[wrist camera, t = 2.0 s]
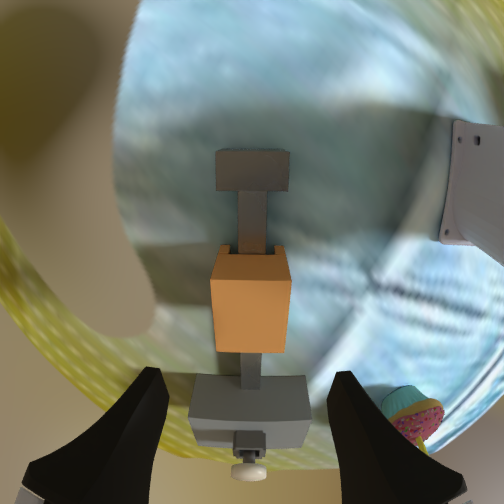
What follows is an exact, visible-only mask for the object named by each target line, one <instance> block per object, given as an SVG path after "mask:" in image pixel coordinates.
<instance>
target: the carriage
mask: <svg viewBox="0 0 504 504" xmlns="http://www.w3.org/2000/svg"><path fill="white" fill-rule="evenodd" d="M291 283H292V280H291V275H290V271H289V266H288V262H287V258H286V253H285V249H284V246H274V255H246V254H230V245H221V246H220V249H219V252H218V255H217V259H216V262H215V265H214V268H213V272H212V275H211V278H210V284H211V297H212V309H213V320H214V330H215V340H216V350H217V352H241V353H284V349H285V341H286V332H287V323H288V314H289V304H290V294H291Z"/></svg>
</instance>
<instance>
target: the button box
mask: <svg viewBox="0 0 504 504" xmlns="http://www.w3.org/2000/svg"><path fill="white" fill-rule="evenodd" d="M188 420H189V422H190V425H191V428H192V431H193V433H194V436H195V439H196V441H197V444H198V446H208V447H220V448H233V456H236V457H237V458H243V450H255V459H262V457H265V453H266V449H285V448H301V447H302V445H303V442H304V440H305V437H306V435H307V432H308V430H309V427H310V424H311V422H312V415H311V408H310V402H309V395H308V389H307V383H306V377H305V376H280V377H260V390H241V376H223V375H207V374H197V375H196V380H195V384H194V389H193V394H192V399H191V403H190V408H189V413H188Z"/></svg>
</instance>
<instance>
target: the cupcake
mask: <svg viewBox="0 0 504 504" xmlns="http://www.w3.org/2000/svg"><path fill="white" fill-rule="evenodd" d="M382 413H383V414H384V416H385V417H386V418H387V419H388V420H389V421H390V422H391V424H392V425H393V426H394V427H395V428H396V429H397V430H398V431H399V432H400V433H401V434H402V435H403V436H404V437H405V438H407V439H408V440H409V441H410V442H411V443H412V444H413V445H415V446H418V447H419V449H420V450H421V451H422V452H424V453H425V454H427V455H428V452H427V450H426V447H425V445H424V443H423V442H424V441H425V440H427V439H428V437H429V436H431V435H432V434H433V433H434V432H435V431H436V430H437V429H438V427H439V426H440V424H441V422H442V419H443V416H444V415H445V414H444V410H443V406H442V404H441V403H440V402H439V401H438V400H436V399H432V398H428V397H426V396H425V395H423V394H422V393H421V392H420V391H419V390H418V389H417V388H416V387H415V386H405V387H402V388H399V389H397V390H395V391H394V392H392V393H391V394H389V395H388V396H387V397H386V398H385V399H384V401H383V402H382ZM428 456H429V455H428Z"/></svg>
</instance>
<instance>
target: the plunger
mask: <svg viewBox="0 0 504 504" xmlns="http://www.w3.org/2000/svg"><path fill="white" fill-rule="evenodd" d="M231 477H232V478H234V479H236V480H241V481H259V480H263V479H265V478H266V467H265V466H264V465H261V464H255V450H243V463H240V464H235V465H233V466H232V468H231Z"/></svg>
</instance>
